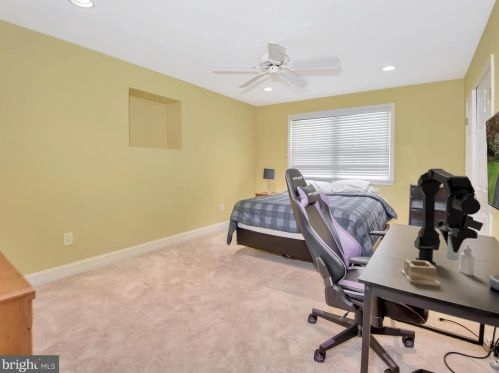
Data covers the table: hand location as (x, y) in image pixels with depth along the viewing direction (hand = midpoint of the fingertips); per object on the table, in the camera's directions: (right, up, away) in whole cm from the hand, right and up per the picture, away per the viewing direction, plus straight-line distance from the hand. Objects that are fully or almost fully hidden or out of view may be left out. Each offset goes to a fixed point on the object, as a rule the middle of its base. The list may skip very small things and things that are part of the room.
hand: (452, 250), depth 103 cm
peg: (0, -3, 0) cm, 3 cm away
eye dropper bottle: (+14, -12, +11) cm, 21 cm away
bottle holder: (-9, -13, +6) cm, 17 cm away
